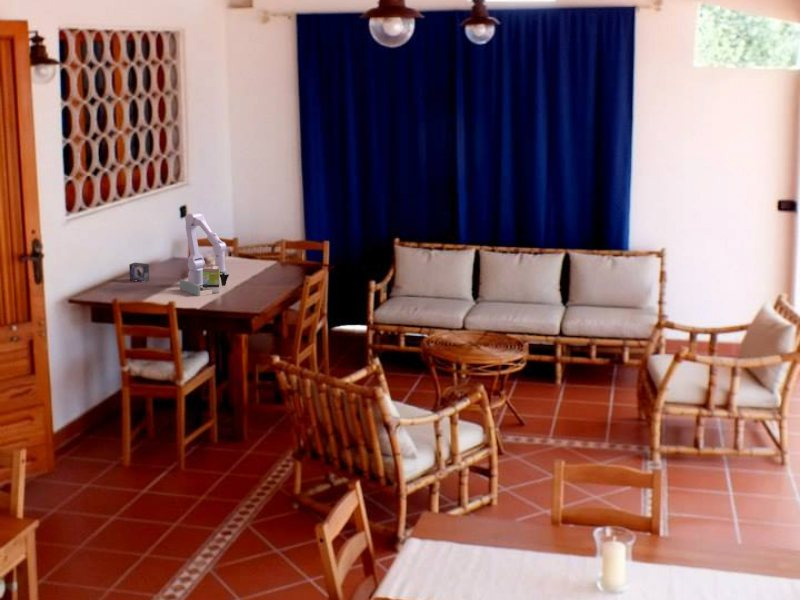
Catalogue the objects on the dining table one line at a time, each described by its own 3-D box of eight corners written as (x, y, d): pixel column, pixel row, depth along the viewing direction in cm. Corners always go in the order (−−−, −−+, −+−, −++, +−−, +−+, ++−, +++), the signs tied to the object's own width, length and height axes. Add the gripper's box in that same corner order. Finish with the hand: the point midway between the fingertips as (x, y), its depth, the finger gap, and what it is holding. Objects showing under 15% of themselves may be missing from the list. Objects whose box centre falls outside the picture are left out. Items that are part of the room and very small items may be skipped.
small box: (129, 280, 720) (128, 264, 718) (135, 278, 726) (134, 262, 724) (143, 282, 716) (143, 265, 714) (149, 280, 722) (149, 263, 720)
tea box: (219, 293, 689) (219, 268, 685) (202, 293, 687) (202, 268, 684) (220, 287, 703) (219, 263, 700) (203, 288, 702) (202, 264, 698)
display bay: (179, 289, 697) (179, 279, 696) (193, 287, 703) (193, 277, 701) (198, 296, 680) (197, 285, 679) (212, 294, 685) (211, 284, 684)
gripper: (232, 263, 695) (232, 285, 698) (219, 259, 706) (220, 281, 709) (221, 264, 690) (222, 287, 693) (209, 261, 702) (209, 283, 704)
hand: (220, 284), depth 701 cm, fingers open, 7 cm apart
